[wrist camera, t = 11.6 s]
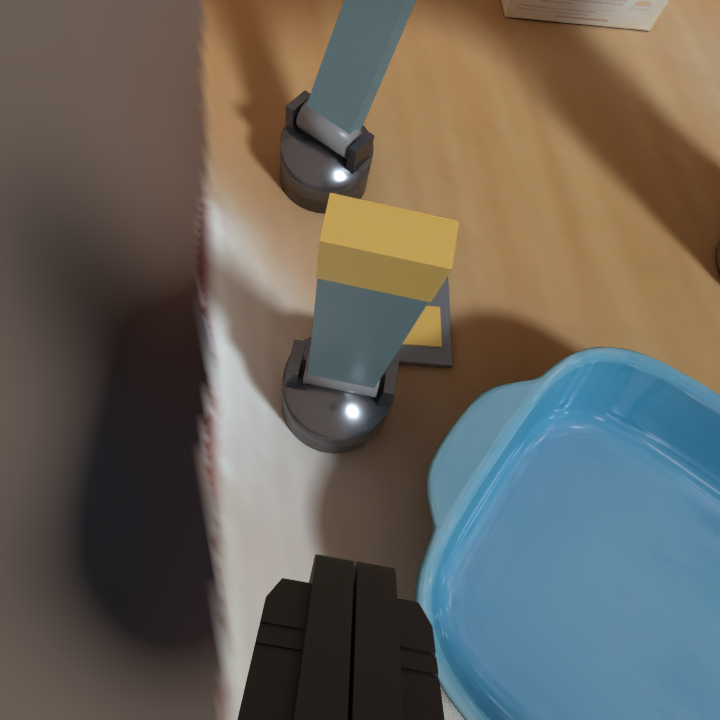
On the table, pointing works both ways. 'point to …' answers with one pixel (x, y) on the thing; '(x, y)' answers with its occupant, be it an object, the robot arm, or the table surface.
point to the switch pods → (300, 400)
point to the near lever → (372, 288)
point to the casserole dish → (579, 546)
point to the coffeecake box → (589, 12)
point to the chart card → (430, 335)
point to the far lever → (353, 70)
